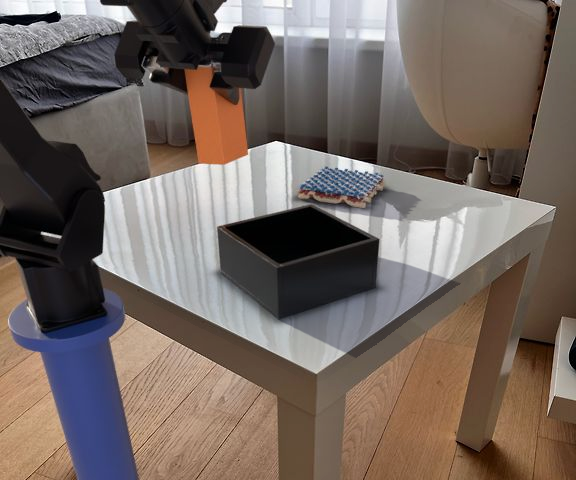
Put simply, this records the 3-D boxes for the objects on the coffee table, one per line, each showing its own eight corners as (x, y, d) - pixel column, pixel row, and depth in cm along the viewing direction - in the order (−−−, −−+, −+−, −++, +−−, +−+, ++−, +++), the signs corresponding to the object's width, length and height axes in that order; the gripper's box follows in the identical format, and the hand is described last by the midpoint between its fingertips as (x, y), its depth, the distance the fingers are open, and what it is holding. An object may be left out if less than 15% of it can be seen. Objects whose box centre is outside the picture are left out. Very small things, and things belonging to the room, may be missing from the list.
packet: (224, 164, 77) (208, 46, 70) (198, 163, 78) (180, 48, 72) (248, 154, 81) (235, 41, 74) (223, 153, 82) (208, 43, 76)
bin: (278, 319, 60) (277, 267, 57) (220, 273, 68) (216, 226, 65) (375, 287, 65) (379, 238, 62) (311, 248, 74) (311, 203, 70)
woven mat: (294, 199, 87) (294, 185, 86) (322, 178, 95) (322, 164, 94) (364, 210, 84) (365, 195, 83) (387, 186, 92) (388, 172, 91)
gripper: (264, -68, 60) (309, 46, 74) (112, -66, 67) (180, 39, 81) (228, 33, 59) (281, 129, 73) (77, 25, 65) (152, 115, 80)
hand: (222, 100), depth 77 cm, fingers closed on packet, 4 cm apart
